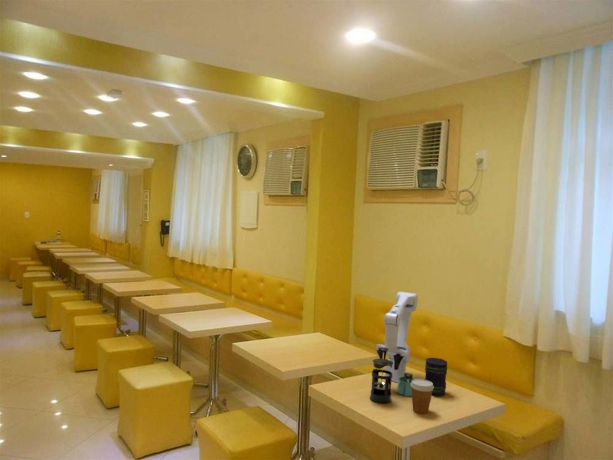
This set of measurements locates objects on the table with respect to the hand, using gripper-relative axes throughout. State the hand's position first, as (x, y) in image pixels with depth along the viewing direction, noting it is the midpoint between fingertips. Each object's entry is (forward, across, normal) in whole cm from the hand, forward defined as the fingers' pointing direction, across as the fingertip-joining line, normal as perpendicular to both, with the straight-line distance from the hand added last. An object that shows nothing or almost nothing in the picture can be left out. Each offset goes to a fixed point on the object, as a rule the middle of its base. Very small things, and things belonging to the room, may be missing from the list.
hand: (389, 367), depth 215 cm
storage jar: (+11, +16, +15) cm, 24 cm away
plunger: (+10, +8, +4) cm, 14 cm away
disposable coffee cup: (+11, +23, -9) cm, 27 cm away
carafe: (+10, +8, +4) cm, 14 cm away
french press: (+11, +5, -13) cm, 18 cm away
